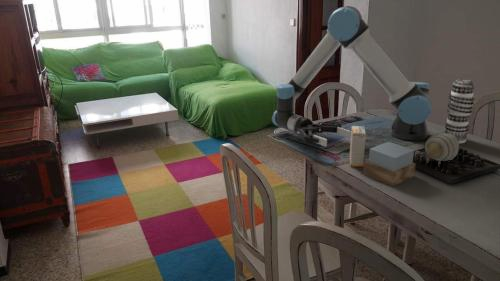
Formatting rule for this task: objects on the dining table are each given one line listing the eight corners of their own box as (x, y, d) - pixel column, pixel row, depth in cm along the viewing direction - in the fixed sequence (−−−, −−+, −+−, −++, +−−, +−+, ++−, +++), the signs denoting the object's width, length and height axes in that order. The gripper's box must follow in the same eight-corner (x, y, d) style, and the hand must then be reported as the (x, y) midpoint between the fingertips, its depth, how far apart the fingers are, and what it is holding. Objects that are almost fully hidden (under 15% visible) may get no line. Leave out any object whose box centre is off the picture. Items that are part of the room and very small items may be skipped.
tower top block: (387, 154, 136) (388, 141, 134) (412, 163, 128) (414, 150, 126) (368, 162, 130) (369, 148, 129) (393, 172, 123) (395, 158, 121)
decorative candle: (437, 138, 160) (446, 80, 151) (451, 134, 164) (460, 77, 155) (457, 145, 153) (468, 84, 144) (471, 140, 157) (482, 80, 148)
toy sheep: (414, 164, 138) (418, 136, 134) (436, 151, 148) (440, 124, 144) (444, 173, 130) (449, 143, 126) (465, 159, 140) (470, 131, 136)
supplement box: (363, 167, 137) (366, 133, 133) (350, 166, 138) (352, 133, 134) (362, 158, 145) (364, 125, 140) (349, 157, 146) (351, 125, 141)
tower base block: (384, 165, 139) (385, 153, 137) (414, 176, 130) (415, 163, 128) (362, 174, 133) (363, 161, 131) (392, 187, 123) (394, 173, 122)
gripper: (320, 127, 170) (359, 139, 154) (278, 140, 156) (315, 156, 140) (321, 111, 167) (360, 122, 151) (277, 123, 154) (315, 137, 138)
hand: (338, 138), depth 146 cm, fingers open, 13 cm apart
